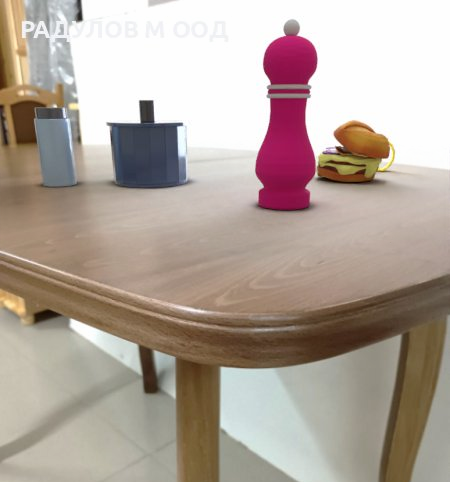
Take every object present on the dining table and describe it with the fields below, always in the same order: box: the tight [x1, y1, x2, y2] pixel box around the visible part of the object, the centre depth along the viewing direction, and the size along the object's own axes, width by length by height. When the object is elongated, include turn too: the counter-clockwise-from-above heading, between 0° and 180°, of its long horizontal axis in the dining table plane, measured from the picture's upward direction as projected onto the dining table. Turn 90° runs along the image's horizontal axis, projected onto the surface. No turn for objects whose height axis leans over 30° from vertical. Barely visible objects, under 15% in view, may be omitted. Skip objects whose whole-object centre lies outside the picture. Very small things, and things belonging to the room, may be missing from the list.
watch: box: [376, 136, 396, 172], centre depth 89 cm, size 6×3×6 cm, turn 77°
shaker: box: [33, 106, 78, 188], centre depth 73 cm, size 5×5×11 cm
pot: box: [108, 125, 189, 189], centre depth 76 cm, size 11×11×8 cm
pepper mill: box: [254, 18, 319, 211], centre depth 56 cm, size 7×7×20 cm
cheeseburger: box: [316, 119, 391, 183], centre depth 78 cm, size 10×11×10 cm
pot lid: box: [105, 99, 190, 127], centre depth 73 cm, size 12×12×4 cm
